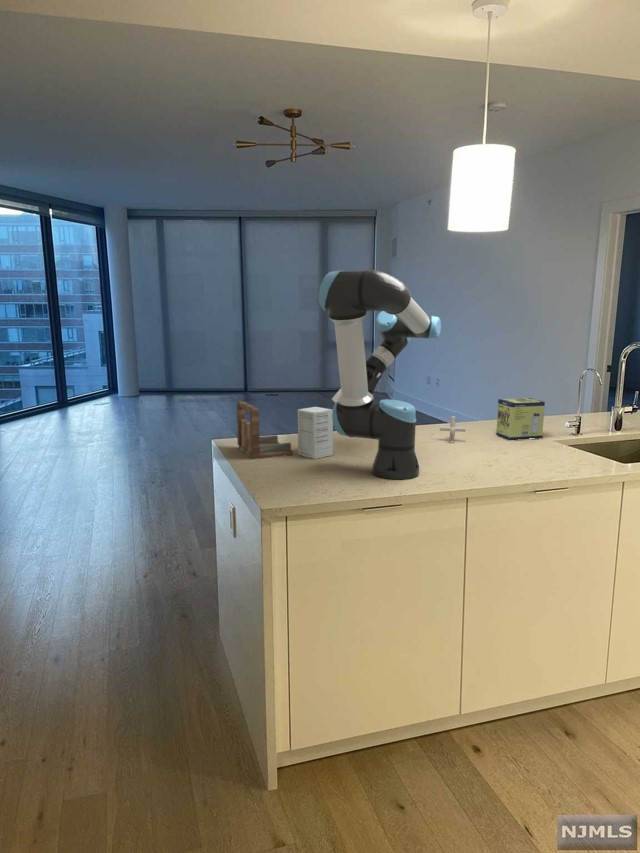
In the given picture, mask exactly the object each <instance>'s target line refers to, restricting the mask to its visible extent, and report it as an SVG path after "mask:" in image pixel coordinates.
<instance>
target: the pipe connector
mask: <svg viewBox="0 0 640 853" xmlns="http://www.w3.org/2000/svg"><path fill="white" fill-rule="evenodd" d="M439 431H440V432H441V431H442V432H449V442H450V441H454V442H455V435H456V434H455V433H456V432H467V431H466V426H456V416H450V426H448V425H440V426H439Z"/></svg>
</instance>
